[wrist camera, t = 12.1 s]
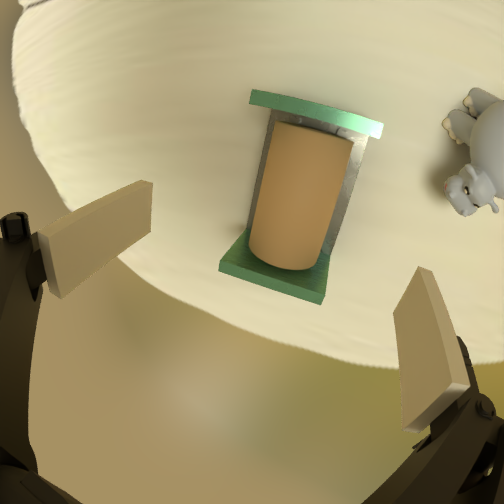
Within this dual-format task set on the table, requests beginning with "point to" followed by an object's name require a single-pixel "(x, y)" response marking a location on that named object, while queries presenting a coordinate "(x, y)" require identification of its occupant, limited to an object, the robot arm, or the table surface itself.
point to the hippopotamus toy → (477, 153)
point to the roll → (298, 194)
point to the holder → (315, 278)
